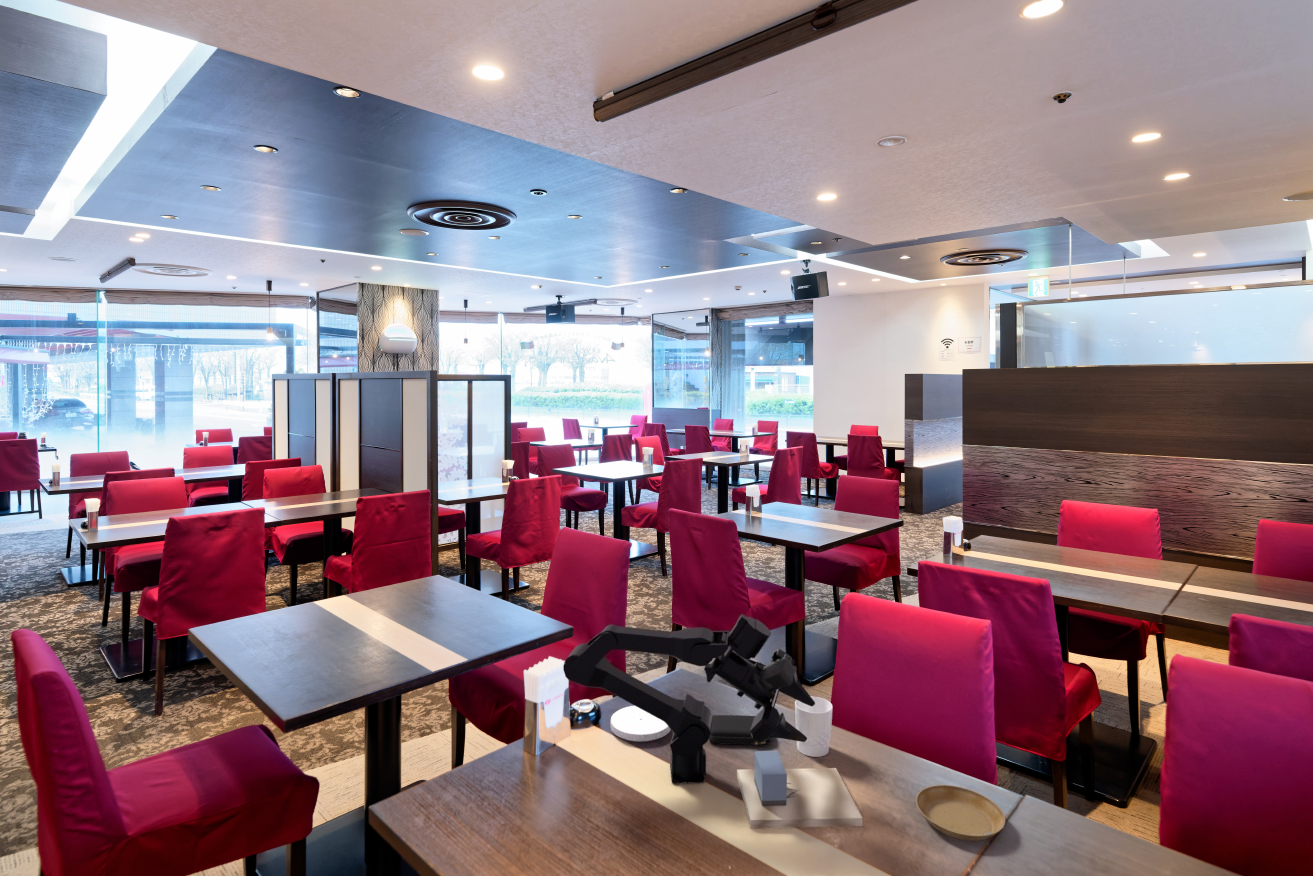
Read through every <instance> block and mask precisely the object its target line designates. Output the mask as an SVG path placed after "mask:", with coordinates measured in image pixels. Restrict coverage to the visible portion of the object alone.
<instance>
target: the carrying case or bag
mask: <svg viewBox="0 0 1313 876" xmlns="http://www.w3.org/2000/svg"><path fill="white" fill-rule="evenodd" d="M755 716H756V715H741V714H740V715H736V714H734V715H732V714H727V715H726V714H712V727H711V733H710V737H709V740H708V741H710V742H711V743H713V744H719V743H731V744H730V745H753V746H755V747H756V746H760V745H761V744H766V745H770V744H771V743H772V742H773V740H774V739H775V738H768V739H767V740H763V741H762V742H761V743H760V742H758V741H757V740H755V739H754V738H753V737H751V733H750V729H751V726H752V723H753V720H754V717H755Z"/></svg>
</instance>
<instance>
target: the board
mask: <svg viewBox="0 0 1313 876" xmlns="http://www.w3.org/2000/svg"><path fill="white" fill-rule="evenodd" d="M785 770H786V773H787V801H786V806H762V804H761V801H760V798H759V795H758V791H757V788H756V785H755V782H754V768H753V769H747V768H746V769H745V768H744V769H736V778H737V779H736V780H737V782H738V785H739V790H740V793H741V797H742V800H743V804H744V809H745V812H746V816H747V820H748V823H749V827H750V829H783V828H790V829H791V828H824V827H823V826H843V827H863V816H862V814H861V812H860V811H859V809H858V807H857V804H856V803H855V801H854V800H853V797H852V796H851V794H850V792H849V790H848V788H847V786H846V784H845V782H844V780H843V779H842V777H841V775H840V774H839V771H838V769H837V768H836V767H831V768H830V767H821V768H815V767H814V768H813V767H811V768H785ZM819 826H820V827H819ZM821 826H822V827H821Z"/></svg>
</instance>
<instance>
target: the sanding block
mask: <svg viewBox="0 0 1313 876" xmlns="http://www.w3.org/2000/svg"><path fill="white" fill-rule="evenodd" d="M753 767H754V768H753V769H754V782H755V785H756V788H757V791H758V795H759V798H760V801H761V804H762V806H786V801H787V773H786V770H785V769H786V768H785V766H784V763H783V760H782V758H781V755H780V753H779V751H778V750H754V765H753Z"/></svg>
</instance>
